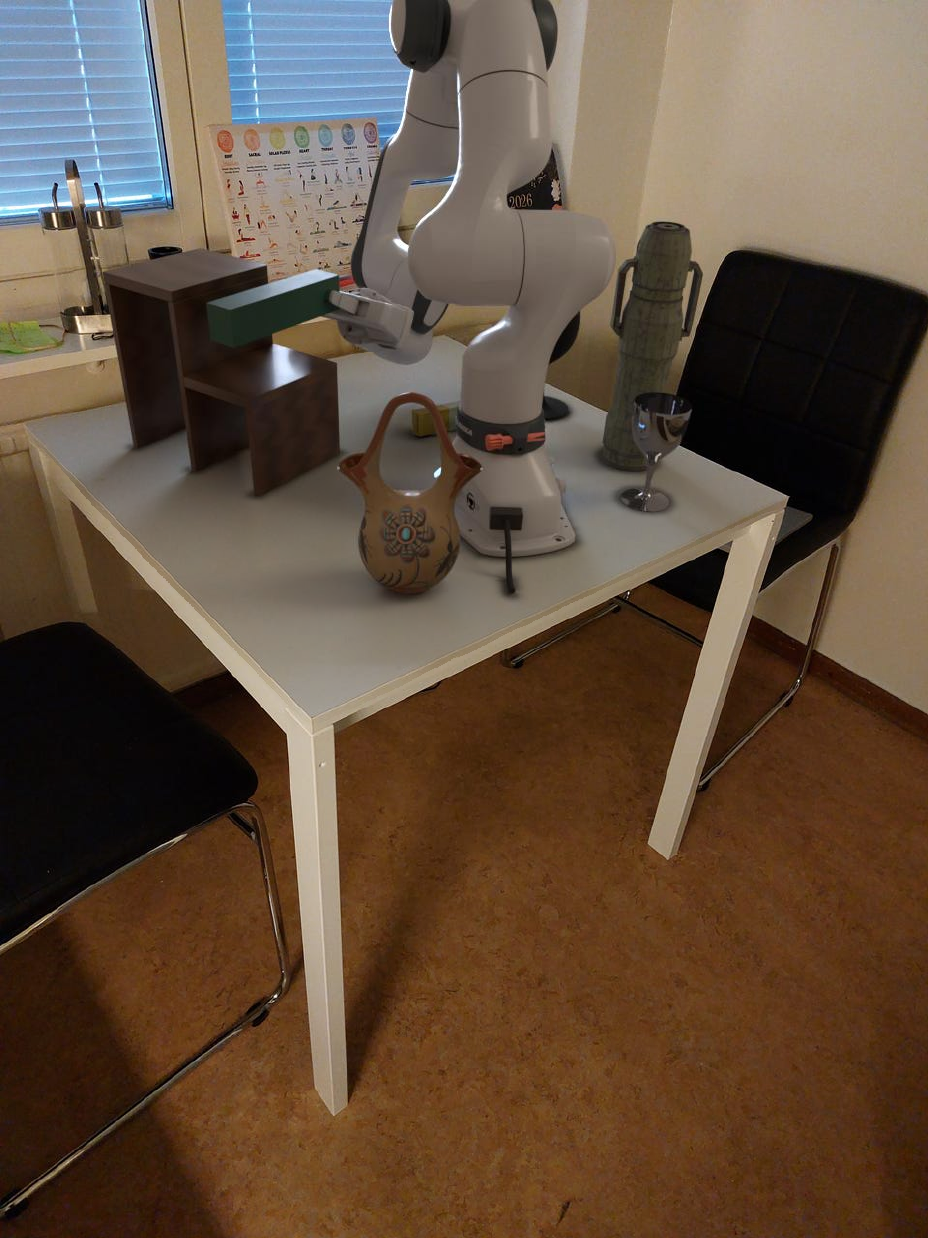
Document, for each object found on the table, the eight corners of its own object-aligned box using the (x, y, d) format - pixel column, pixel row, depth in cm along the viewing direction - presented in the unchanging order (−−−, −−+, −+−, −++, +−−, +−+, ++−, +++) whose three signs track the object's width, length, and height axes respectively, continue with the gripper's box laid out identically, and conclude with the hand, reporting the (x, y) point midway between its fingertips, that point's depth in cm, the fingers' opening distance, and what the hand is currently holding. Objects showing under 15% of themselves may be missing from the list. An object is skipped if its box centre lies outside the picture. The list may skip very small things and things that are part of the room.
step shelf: (219, 410, 150) (200, 247, 135) (340, 453, 139) (334, 281, 124) (133, 446, 137) (101, 271, 122) (259, 496, 127) (241, 311, 111)
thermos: (584, 447, 145) (616, 217, 125) (653, 446, 147) (696, 218, 127) (599, 472, 138) (636, 232, 118) (672, 470, 140) (720, 233, 120)
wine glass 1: (540, 425, 152) (553, 306, 140) (497, 405, 158) (506, 289, 146) (581, 411, 158) (596, 295, 146) (538, 392, 164) (550, 280, 152)
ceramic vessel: (471, 565, 115) (483, 377, 100) (478, 606, 107) (492, 409, 93) (342, 566, 113) (335, 375, 98) (340, 608, 106) (333, 407, 91)
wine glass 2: (608, 489, 134) (624, 394, 125) (656, 484, 136) (674, 390, 127) (632, 515, 128) (650, 416, 119) (681, 509, 130) (703, 412, 121)
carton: (317, 303, 135) (316, 268, 132) (340, 309, 133) (339, 274, 131) (210, 340, 120) (205, 302, 117) (234, 347, 118) (230, 309, 115)
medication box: (472, 421, 152) (472, 397, 150) (481, 425, 150) (481, 401, 148) (410, 432, 146) (410, 408, 144) (419, 437, 144) (418, 412, 142)
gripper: (320, 286, 147) (266, 255, 134) (423, 312, 138) (375, 283, 126) (309, 324, 148) (255, 297, 135) (410, 352, 139) (361, 327, 127)
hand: (313, 290), depth 130 cm, fingers closed on carton, 4 cm apart
